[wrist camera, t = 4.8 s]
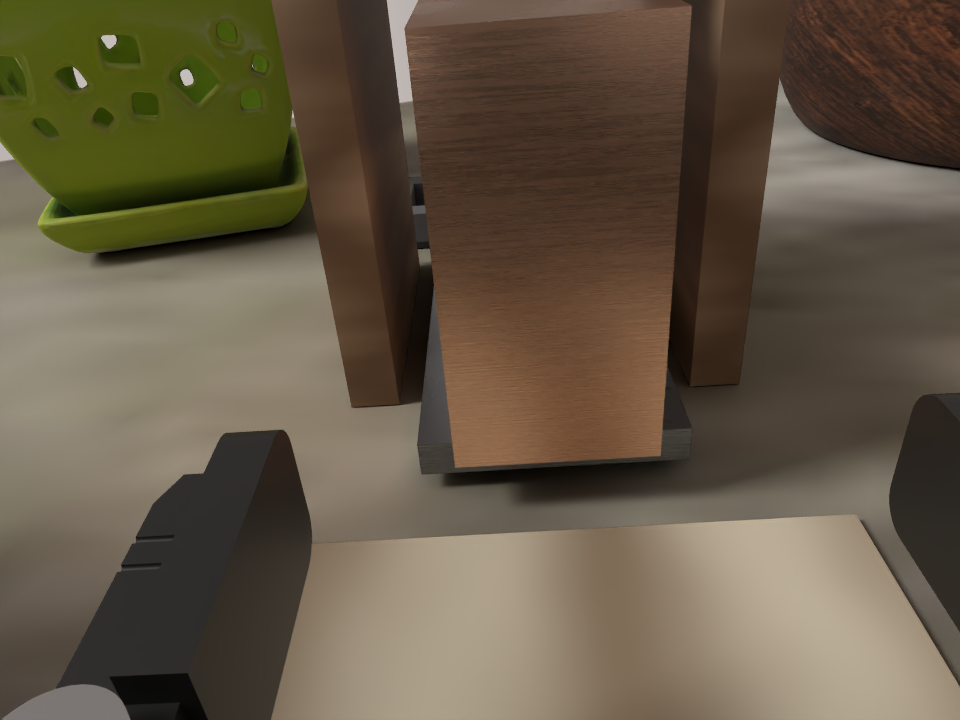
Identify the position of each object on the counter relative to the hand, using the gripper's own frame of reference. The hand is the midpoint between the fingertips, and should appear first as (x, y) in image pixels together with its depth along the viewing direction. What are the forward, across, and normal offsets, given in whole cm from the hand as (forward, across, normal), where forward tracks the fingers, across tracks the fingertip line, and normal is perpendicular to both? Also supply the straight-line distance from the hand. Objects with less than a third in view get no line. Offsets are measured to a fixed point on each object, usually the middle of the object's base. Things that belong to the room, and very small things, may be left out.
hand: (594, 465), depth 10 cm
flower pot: (+31, +17, +7) cm, 36 cm away
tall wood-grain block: (+15, 0, +7) cm, 16 cm away
